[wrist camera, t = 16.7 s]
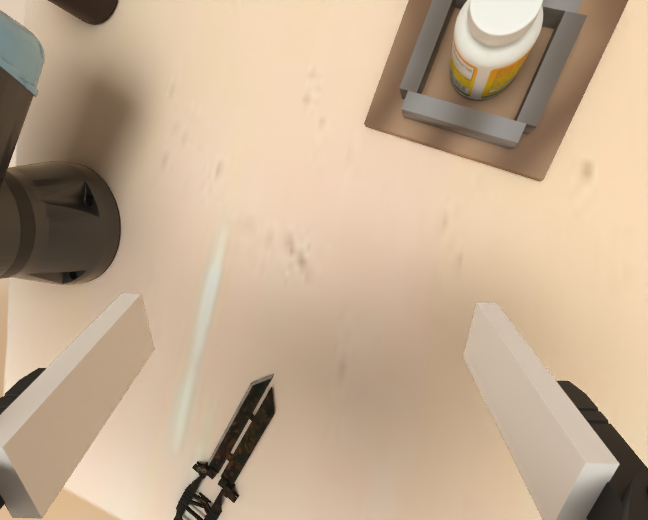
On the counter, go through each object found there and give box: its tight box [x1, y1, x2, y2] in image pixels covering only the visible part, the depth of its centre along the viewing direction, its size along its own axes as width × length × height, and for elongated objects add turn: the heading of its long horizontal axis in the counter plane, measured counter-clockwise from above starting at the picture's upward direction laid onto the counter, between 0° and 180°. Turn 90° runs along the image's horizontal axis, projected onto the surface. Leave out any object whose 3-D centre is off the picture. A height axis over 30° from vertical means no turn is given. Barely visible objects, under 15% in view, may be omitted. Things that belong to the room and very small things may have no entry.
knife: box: [174, 374, 274, 520], centre depth 42 cm, size 25×6×1 cm, turn 145°
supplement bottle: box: [450, 0, 543, 100], centre depth 25 cm, size 5×5×10 cm
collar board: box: [364, 0, 628, 181], centre depth 29 cm, size 16×14×4 cm
